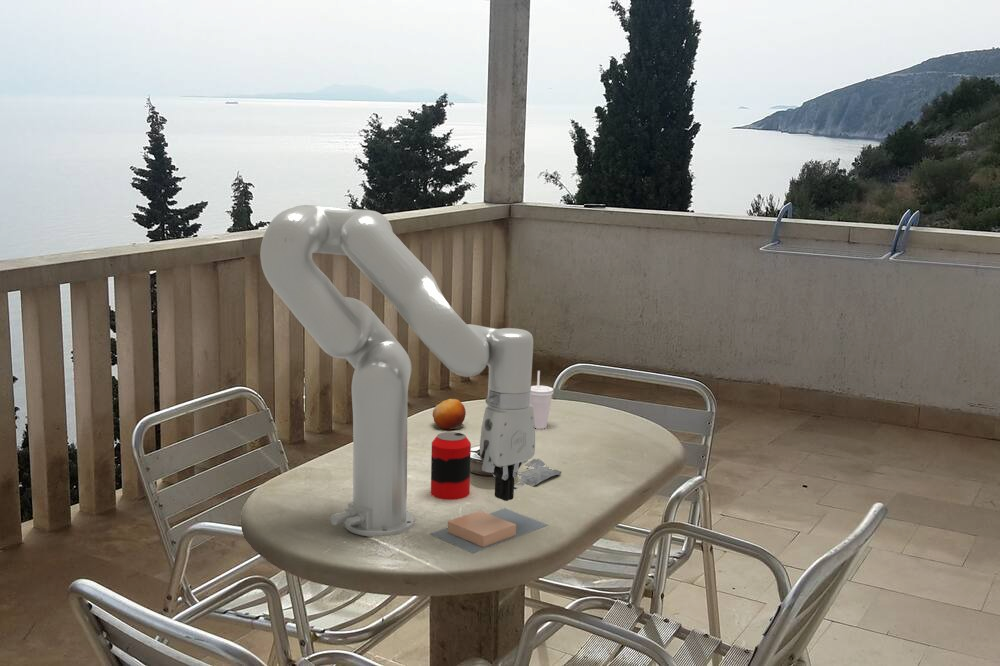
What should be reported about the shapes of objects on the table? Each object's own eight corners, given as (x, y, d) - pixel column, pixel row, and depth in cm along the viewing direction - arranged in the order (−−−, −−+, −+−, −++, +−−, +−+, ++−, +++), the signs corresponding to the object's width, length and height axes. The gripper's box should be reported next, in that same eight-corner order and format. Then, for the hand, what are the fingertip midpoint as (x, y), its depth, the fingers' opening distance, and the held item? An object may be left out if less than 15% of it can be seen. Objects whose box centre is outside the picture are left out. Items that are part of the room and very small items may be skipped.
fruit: (472, 426, 240) (455, 398, 238) (443, 442, 240) (426, 414, 239) (473, 417, 248) (457, 389, 246) (446, 432, 248) (429, 405, 247)
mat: (472, 555, 169) (473, 553, 169) (429, 536, 177) (429, 533, 176) (548, 527, 182) (548, 524, 182) (504, 510, 190) (504, 508, 190)
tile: (515, 535, 177) (483, 547, 171) (479, 521, 183) (447, 532, 177) (516, 524, 177) (483, 536, 171) (480, 510, 183) (447, 521, 177)
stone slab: (532, 457, 220) (571, 464, 214) (532, 465, 220) (571, 472, 214) (482, 480, 205) (523, 488, 199) (483, 489, 206) (523, 497, 200)
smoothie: (527, 422, 250) (529, 367, 247) (553, 424, 249) (555, 369, 246) (524, 429, 244) (526, 373, 241) (550, 431, 243) (553, 374, 240)
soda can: (477, 496, 197) (479, 437, 195) (448, 504, 192) (450, 444, 190) (451, 486, 203) (452, 428, 200) (422, 494, 197) (423, 435, 195)
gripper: (493, 410, 169) (488, 513, 173) (553, 397, 180) (547, 495, 183) (463, 400, 175) (459, 501, 178) (522, 388, 185) (517, 484, 189)
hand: (503, 497), depth 181 cm, fingers closed
